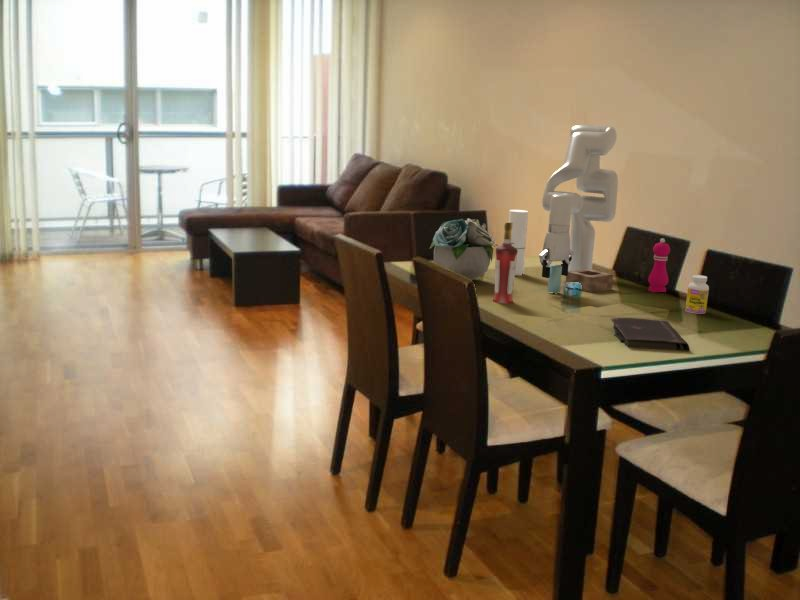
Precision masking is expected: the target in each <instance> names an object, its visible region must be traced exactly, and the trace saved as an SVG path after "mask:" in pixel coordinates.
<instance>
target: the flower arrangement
mask: <svg viewBox="0 0 800 600" xmlns="http://www.w3.org/2000/svg"><path fill="white" fill-rule="evenodd" d="M486 226H487V225H486V223H482V225H481V224H480V221H479V219H475V218H474V219H473V218H472V219H471V218H467V217H463V218H459V219H454V220H448V221H444V222H442V224H441V225H440V227H439V228H438V229H437V231H435V234H434V236H433V238H432V242H431V243H430V244H431V245H430V247H429V249H432V248H433V247H434V249H433V263H436V264H438V265H440V266H442V267H444V268H447V269H449V270H451V271H454V272H456V273H459V274H461V275H463V276H465V277H467V278H469V279H471V280H473V281H474V280H475V279H477V278H480V277H481V276H483V275H485V273H486V272H487V271H488V269H489V267H490V265H491V263H493V255H494V248H493V247H495V248H496V247H499V244H497V243H496V242H495V238H493V236H491V234H489V233H488V231H487V230H486V229H487V227H486Z"/></svg>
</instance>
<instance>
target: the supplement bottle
mask: <svg viewBox="0 0 800 600" xmlns="http://www.w3.org/2000/svg"><path fill="white" fill-rule="evenodd" d="M691 280H692V281H691V282H690V283H689V284H688V285H687V286H688V287H687V293H686V299H685V301H686V302H685V309H684V310H685V312H688V313H692V314H699V315H700V314H701V315H702V314H706V313H707V312H706V311H707V306H708V305H707V304H708V298H709V293H710V292H709V291H710V286H709V285H708V284H707V281H708V276H706V275H702V274H700V275H699V274H694V275H692V278H691Z"/></svg>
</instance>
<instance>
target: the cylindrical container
mask: <svg viewBox="0 0 800 600" xmlns="http://www.w3.org/2000/svg"><path fill="white" fill-rule="evenodd" d="M508 215H509V217H508V222H513V224H512V230H511V246H513V247H515V248H516V249H517V250H518V252H517V260H516V269H515V276H523V275H524V273H525V271H524V270H525V257H526V247H527V246H526V245H527V231H528V221H529V220H528V218H529V211H528V210H524V209H509V214H508ZM522 274H523V275H522Z"/></svg>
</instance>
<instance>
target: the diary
mask: <svg viewBox="0 0 800 600" xmlns="http://www.w3.org/2000/svg"><path fill="white" fill-rule="evenodd" d="M610 320H611V322H612V323H613V326H612V327H613V329H614V331H615V332H616V333H614V334H613V335H614V336H616V337H617V338H618V340H619V341H622V342H623V343H624V345H625V346H626V347H627V348H642V349H657V350H671V351H677V349H678V350H679V351H684V350H685V351H686V352H690V346H689V343H688V342H687V341H686V340H685V339H684V338H683V337H682V336H681V335H680V333H678V331H677V330H676V329H675V328H674V327H673V326H672V325H671V324H670V323H669V321H668V320H658V319H655V320H654V319H648V318H647V319H646V318H635V317H634V318H633V317H611V318H610Z"/></svg>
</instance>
